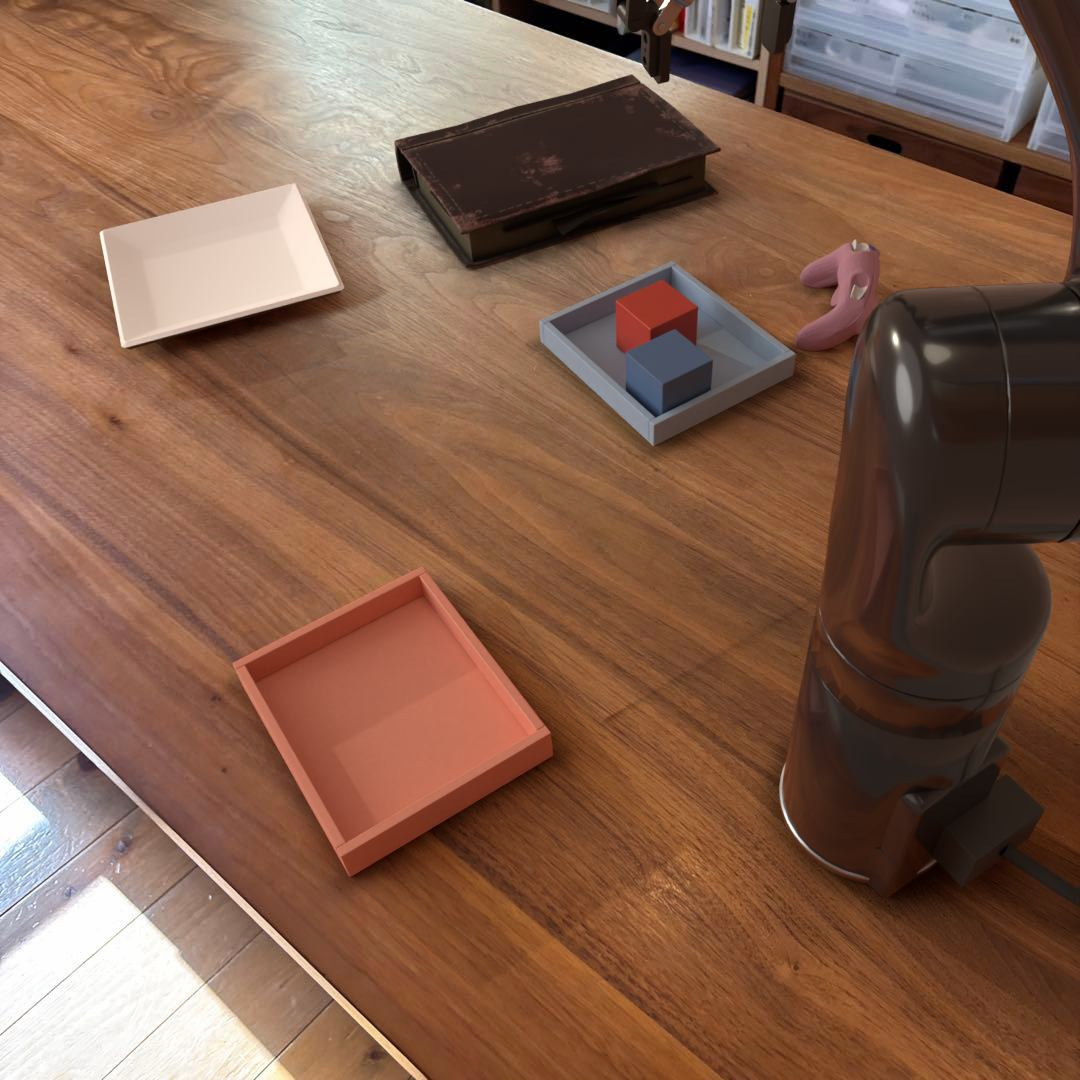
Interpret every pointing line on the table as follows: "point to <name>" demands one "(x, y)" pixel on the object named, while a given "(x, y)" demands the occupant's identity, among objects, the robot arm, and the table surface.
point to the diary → (554, 170)
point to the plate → (216, 265)
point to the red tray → (391, 717)
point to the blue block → (667, 372)
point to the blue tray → (722, 334)
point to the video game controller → (841, 294)
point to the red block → (654, 316)
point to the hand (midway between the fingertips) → (715, 62)
